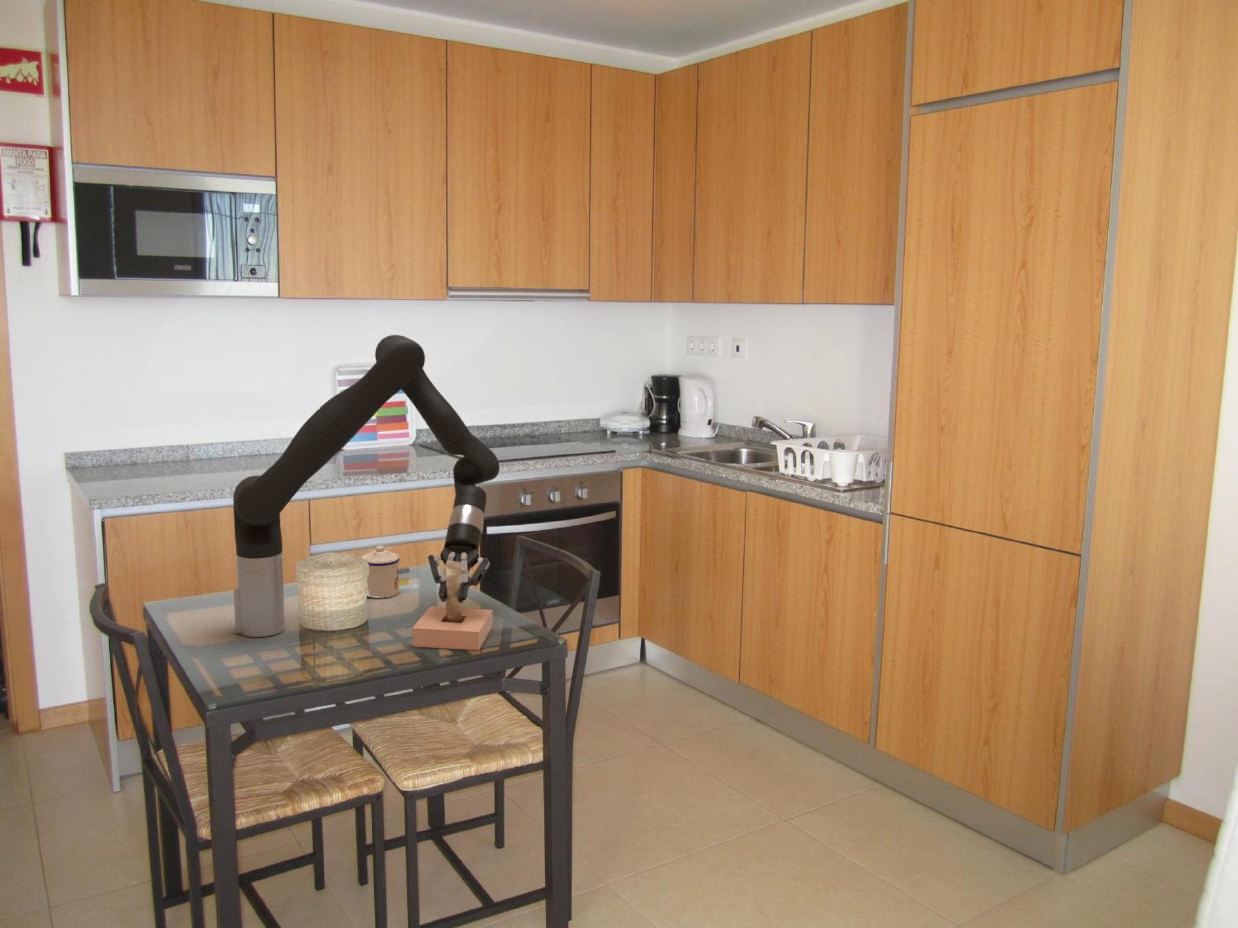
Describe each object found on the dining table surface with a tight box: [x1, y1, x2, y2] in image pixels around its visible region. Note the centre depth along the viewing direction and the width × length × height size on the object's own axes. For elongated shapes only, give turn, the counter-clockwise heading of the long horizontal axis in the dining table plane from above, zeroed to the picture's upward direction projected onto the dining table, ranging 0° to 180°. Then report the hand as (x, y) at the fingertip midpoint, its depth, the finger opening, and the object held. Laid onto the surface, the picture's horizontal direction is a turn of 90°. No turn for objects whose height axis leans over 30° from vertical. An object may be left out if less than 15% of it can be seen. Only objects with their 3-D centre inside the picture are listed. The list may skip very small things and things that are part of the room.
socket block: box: [411, 606, 494, 651], centre depth 217 cm, size 14×14×4 cm
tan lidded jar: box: [360, 545, 400, 597], centre depth 245 cm, size 12×9×12 cm
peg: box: [445, 561, 463, 623], centre depth 216 cm, size 3×3×14 cm
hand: (451, 600), depth 214 cm, fingers closed on peg, 3 cm apart
